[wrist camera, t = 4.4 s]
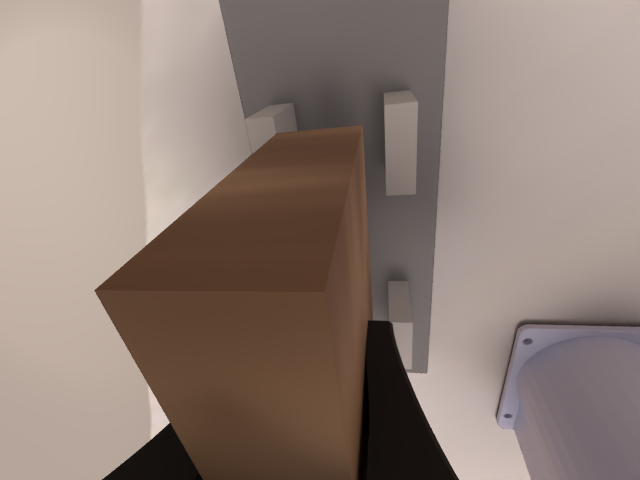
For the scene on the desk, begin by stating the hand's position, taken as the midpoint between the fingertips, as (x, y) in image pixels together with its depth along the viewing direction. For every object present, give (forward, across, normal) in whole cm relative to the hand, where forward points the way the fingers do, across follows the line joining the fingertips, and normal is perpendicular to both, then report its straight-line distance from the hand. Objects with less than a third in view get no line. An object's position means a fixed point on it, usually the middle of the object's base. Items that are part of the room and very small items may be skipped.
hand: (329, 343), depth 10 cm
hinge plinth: (+9, 0, 0) cm, 9 cm away
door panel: (+2, 0, 0) cm, 2 cm away
